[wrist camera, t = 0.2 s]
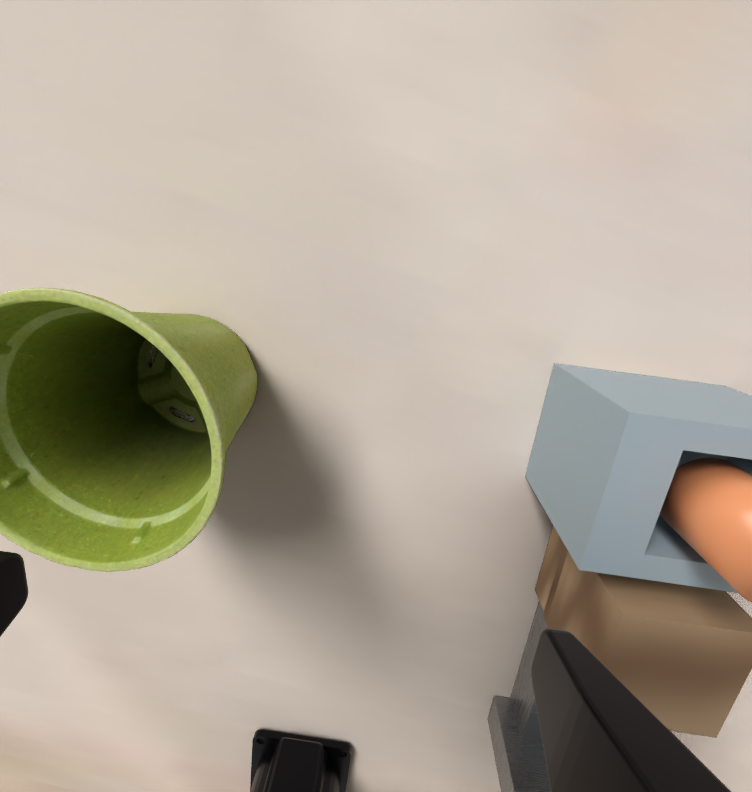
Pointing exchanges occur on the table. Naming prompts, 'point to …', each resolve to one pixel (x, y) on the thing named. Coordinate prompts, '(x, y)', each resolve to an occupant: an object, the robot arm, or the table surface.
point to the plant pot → (113, 427)
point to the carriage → (654, 638)
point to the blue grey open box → (631, 466)
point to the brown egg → (714, 517)
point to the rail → (520, 727)
